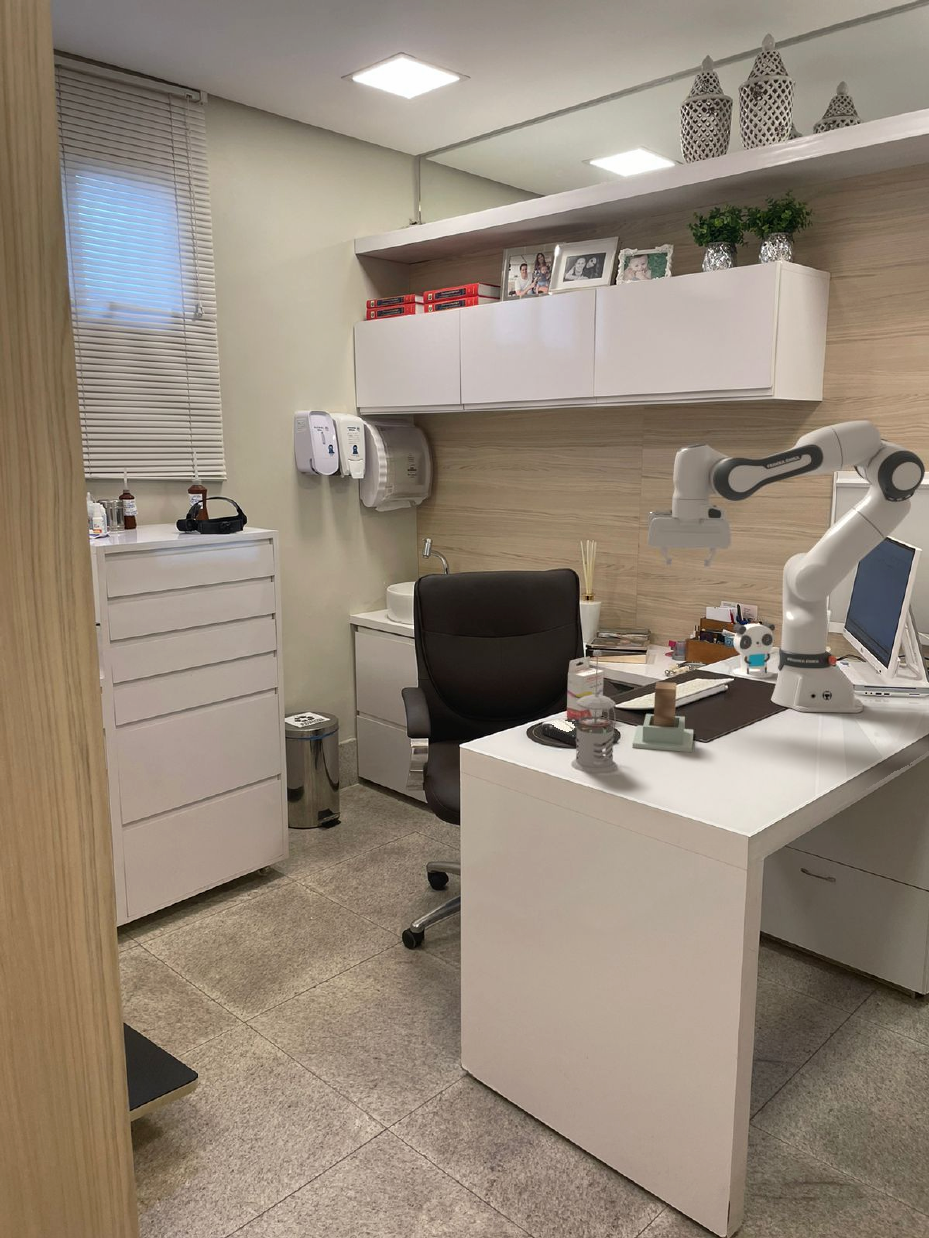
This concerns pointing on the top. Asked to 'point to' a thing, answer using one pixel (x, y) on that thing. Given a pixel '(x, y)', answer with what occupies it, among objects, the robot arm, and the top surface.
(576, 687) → the ink cartridge box
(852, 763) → the top surface
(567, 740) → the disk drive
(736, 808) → the top surface
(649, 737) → the socket dock
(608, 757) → the french press
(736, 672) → the panda figurine
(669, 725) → the walnut block
